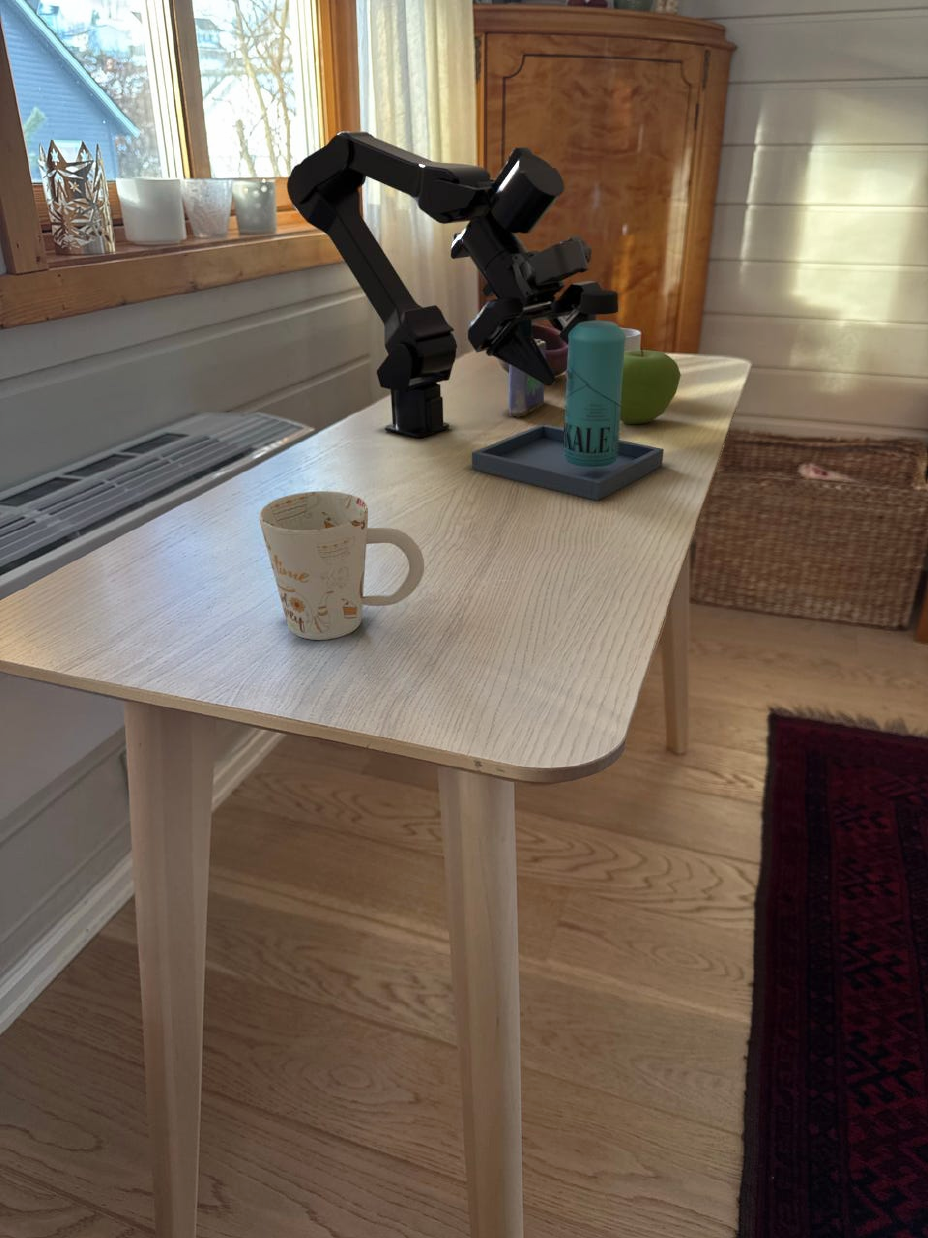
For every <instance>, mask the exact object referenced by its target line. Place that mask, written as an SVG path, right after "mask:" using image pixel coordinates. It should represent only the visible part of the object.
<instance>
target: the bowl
mask: <svg viewBox="0 0 928 1238" xmlns="http://www.w3.org/2000/svg"><path fill="white" fill-rule="evenodd" d="M560 332H561V331H559V330H557V329H556V328H554V327H549V326H546V325H541V324H537V323H533V324H532V335H533V338H534V339H536V340H538V339H541V341H545V342H546V361H547V363H548V365H549V367H550V369H551V371H552V373H553V375H554V377H555V378H556V377H557V376H560V375H561V374H564V373H566V372H567V369H566V367H567V365H568V362H567V360H568V347H569V345H567V344H566V343H565V342H564V341H563V340H562V339H561V338H560V337H559V336H558V334H559V333H560ZM566 356H567V357H566ZM496 359H497V362H498V363H499V365H500V366H501V368H502V369H503V370H504V371H505V372H506V373H508V374H509V364H508V363H506V362H504V361H502V360H500V359H498V358H496ZM566 359H567V360H566Z"/></svg>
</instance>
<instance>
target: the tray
mask: <svg viewBox="0 0 928 1238" xmlns="http://www.w3.org/2000/svg"><path fill="white" fill-rule="evenodd" d="M563 431H564V427H560V426H554V425H549V424H544V423H541V424H539V425H536V426H533V427H531V428H529V429H526V430H523V431H521V432H519V433H517V434H514V435H512V436H509V437H507V438H503V439H502V440H499V441H496V442H494V443H491V444H489V445H487V446H485V447H482V448H479V449H477V450H474V451H472V452H471V470H473V471H478V472H482V473H486V474H490V475H493V476H498V477H501V478H506V479H510V480H514V481H518V482H521V483H526V484H529V485H533V486H536V487H537V486H538V487H542V488H546V489H550V490H553V491H558V492H561V493H565V494H568V495H573V496H577V497H581V498H585V499H588V500H593V501H598V502H599V501H601V500H602V499H603V498H605V497H607V496H610V495H611V494H613V493H615V492H617V491H618V490H621V489H623V488H624V487H626V486H627V485H629V484H631V483H633V482H635V481H637V480H639V479H640V478H642V477H644V476H646V475H648V474H650V473H652V472H653V471H656V469H658V468H660V467H663V462H664V461H663V460H664V453H665V452H664V451H665V448H663V447H657V446H651V445H647V444H641V443H637V442H632V441H628V440H622V439H619V443H618V447H619V448H618V454H619V455H618V456H617V459H616V461H615V462H614V463H612V464H610V465H607V466H601V467H584V466H578V465H574V464H571V463H569V462H567V461H566V460H565V456H564V454H563V453H564V450H563V449H564V446H563V445H564V442H563V433H564V432H563ZM564 441H565V433H564Z"/></svg>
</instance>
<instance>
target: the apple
mask: <svg viewBox="0 0 928 1238" xmlns="http://www.w3.org/2000/svg"><path fill="white" fill-rule="evenodd" d="M681 376H682V374H681V371H680V368H679V365H678V363H677V362H676V360H674V359H673V358H672V357H670V356H669V354H666V353H665V352H662V351H657V350H656V351H655V350H648V349H645V350H644V349H643V347H640V350H631V351H625V352H624V363H623V377H622V391H621V408H622V409H621V410H620V422H622V423H624V424H626V425H642V424H646V423H650V422H651V421H653V420H654V419H657V418H658V417H660V416H661V415H663V414H664V413H665V412H666V410H667V409H668V407H669V405H670V404H671V403H672V401H673V400H674V398H675V395H676V394H677V391H678V388H679V385H680V380H681ZM621 415H622V416H621Z"/></svg>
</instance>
